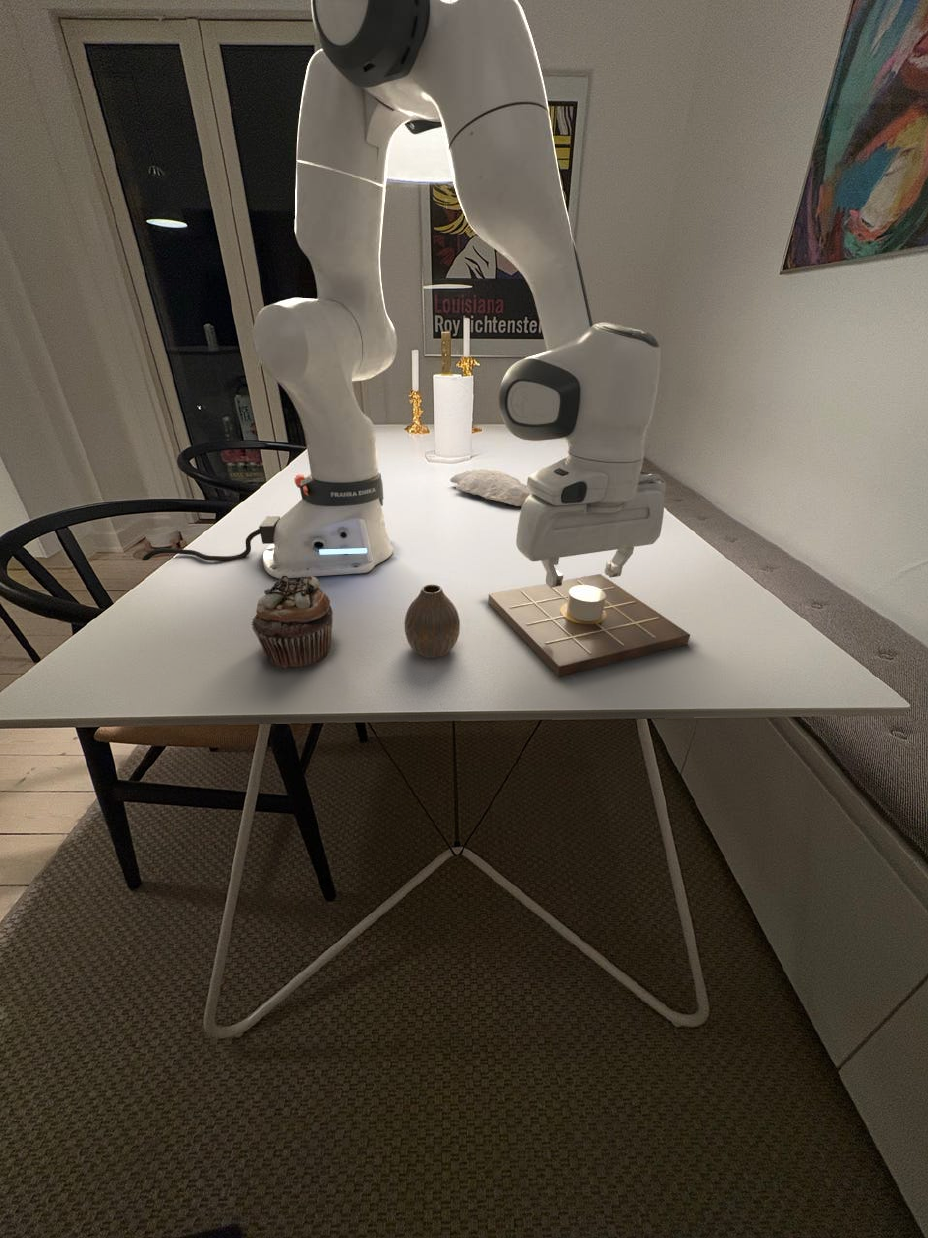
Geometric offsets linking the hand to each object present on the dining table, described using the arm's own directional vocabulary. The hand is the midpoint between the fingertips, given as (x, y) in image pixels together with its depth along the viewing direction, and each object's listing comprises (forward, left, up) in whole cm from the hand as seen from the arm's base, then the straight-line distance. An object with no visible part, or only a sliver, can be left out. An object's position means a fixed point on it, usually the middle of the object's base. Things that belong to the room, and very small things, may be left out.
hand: (583, 580), depth 69 cm
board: (0, 0, -7) cm, 7 cm away
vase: (-22, +1, -7) cm, 23 cm away
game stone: (+1, 0, -5) cm, 5 cm away
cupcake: (-37, +7, -7) cm, 39 cm away
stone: (+15, +61, -7) cm, 63 cm away
